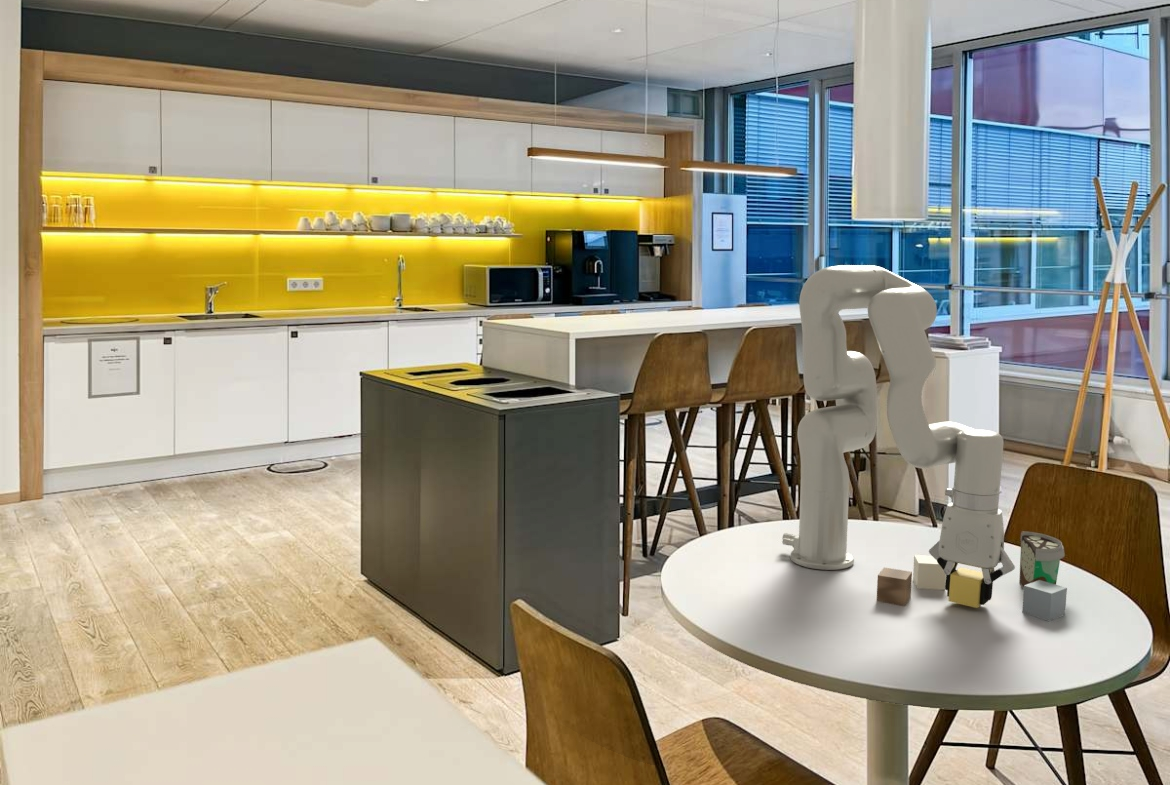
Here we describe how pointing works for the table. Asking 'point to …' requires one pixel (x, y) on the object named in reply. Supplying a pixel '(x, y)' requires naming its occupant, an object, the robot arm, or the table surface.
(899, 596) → the walnut cube
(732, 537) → the table surface
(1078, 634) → the table surface
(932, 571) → the cream cube
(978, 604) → the mustard cube
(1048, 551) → the food container
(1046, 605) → the slate cube
